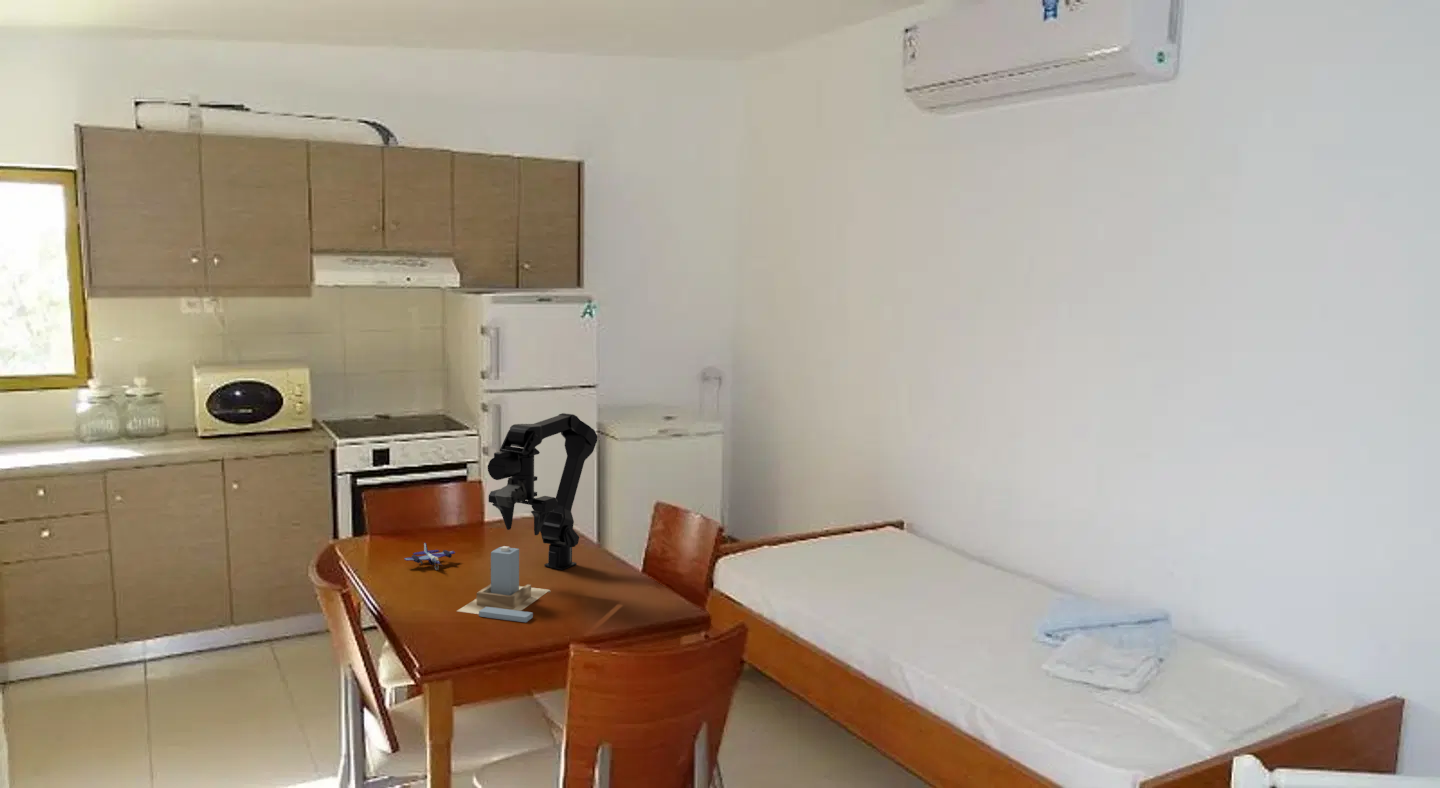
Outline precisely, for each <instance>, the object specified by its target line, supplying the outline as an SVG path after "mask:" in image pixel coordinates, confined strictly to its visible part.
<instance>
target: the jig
mask: <svg viewBox="0 0 1440 788" xmlns="http://www.w3.org/2000/svg"><path fill="white" fill-rule="evenodd" d="M547 593H551V589H546V588H539V587H538V588H537V587H532V584H529V583H528V584H525V585H524V586H521V585H519V590H518V591H517V592H515V593H514V594H512V595H511V596H510V595H502V594H494V593H491V583H490V584H488V585H487V586H485V587H483V588H482V589H480V590H479V591H477V592H476V598H474V600H472V601H470V602H469V603H467V604H466V605H463V606H462V607H461V608H459V609H457V610H456V612H459V613H467V614H472V615H473V614H475V615H479V611H480V610H482V609H483V608H485V607H493V608H501V609H509V610H516V611H524V609H526V608H527V607H529V606H530V605H532V604H533V603H534V602H536V601H537V600H539V599H540V598H541V597H543V596H544V595H545V594H547Z"/></svg>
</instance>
